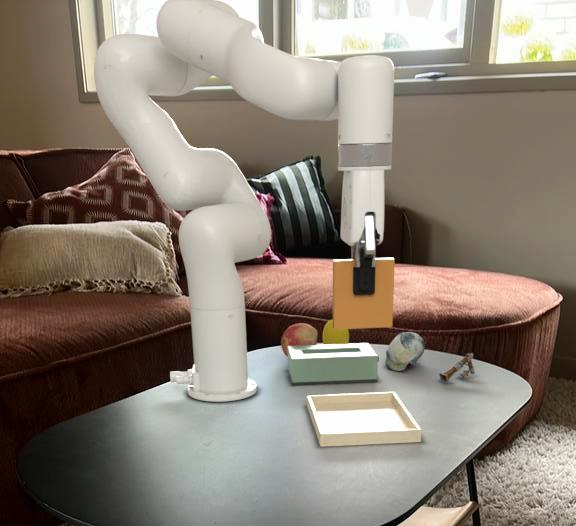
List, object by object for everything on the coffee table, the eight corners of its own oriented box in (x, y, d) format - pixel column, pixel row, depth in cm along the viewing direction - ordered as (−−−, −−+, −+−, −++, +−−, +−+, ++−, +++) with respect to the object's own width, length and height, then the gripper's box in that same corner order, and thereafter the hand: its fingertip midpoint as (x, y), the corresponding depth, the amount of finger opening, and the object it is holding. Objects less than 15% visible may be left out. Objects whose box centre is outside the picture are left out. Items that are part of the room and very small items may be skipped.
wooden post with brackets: (480, 371, 145) (475, 351, 142) (450, 394, 143) (445, 374, 140) (473, 369, 146) (468, 349, 143) (444, 392, 144) (438, 372, 141)
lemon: (336, 350, 165) (336, 313, 161) (354, 355, 161) (354, 317, 157) (317, 355, 161) (317, 317, 158) (334, 360, 158) (335, 321, 154)
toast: (334, 329, 116) (334, 261, 112) (332, 327, 117) (332, 259, 113) (392, 327, 116) (394, 258, 112) (390, 324, 118) (392, 257, 114)
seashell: (382, 377, 151) (405, 362, 160) (415, 366, 146) (437, 351, 156) (371, 347, 150) (395, 333, 159) (404, 334, 145) (426, 321, 154)
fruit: (305, 370, 151) (305, 329, 148) (273, 364, 155) (272, 325, 152) (326, 361, 157) (326, 322, 153) (295, 356, 161) (295, 318, 157)
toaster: (292, 385, 142) (291, 358, 140) (287, 370, 151) (287, 345, 149) (382, 381, 143) (383, 355, 141) (372, 367, 152) (373, 342, 150)
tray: (320, 446, 113) (320, 434, 112) (306, 406, 130) (306, 395, 130) (421, 442, 114) (421, 429, 113) (394, 402, 131) (394, 391, 131)
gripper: (330, 158, 113) (330, 285, 121) (347, 160, 99) (345, 304, 107) (380, 157, 114) (377, 283, 122) (403, 158, 100) (398, 301, 108)
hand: (362, 292), depth 115 cm, fingers closed on toast, 1 cm apart
